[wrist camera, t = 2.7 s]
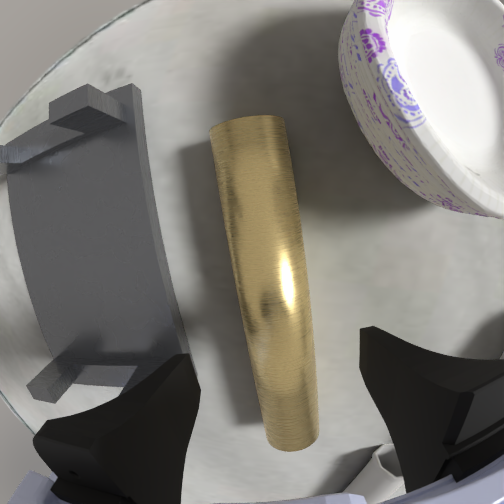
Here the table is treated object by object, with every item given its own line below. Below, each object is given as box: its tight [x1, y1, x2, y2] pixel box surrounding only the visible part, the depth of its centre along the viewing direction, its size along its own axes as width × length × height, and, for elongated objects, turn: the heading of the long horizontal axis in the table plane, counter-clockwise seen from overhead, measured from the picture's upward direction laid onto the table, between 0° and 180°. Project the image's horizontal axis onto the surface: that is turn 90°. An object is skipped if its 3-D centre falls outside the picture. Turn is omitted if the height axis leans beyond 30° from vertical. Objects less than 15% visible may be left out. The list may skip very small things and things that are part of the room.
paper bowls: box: [338, 0, 504, 219], centre depth 11 cm, size 15×15×8 cm
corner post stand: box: [0, 83, 197, 403], centre depth 15 cm, size 12×20×6 cm, turn 9°
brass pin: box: [209, 115, 319, 452], centre depth 17 cm, size 21×4×4 cm, turn 9°
